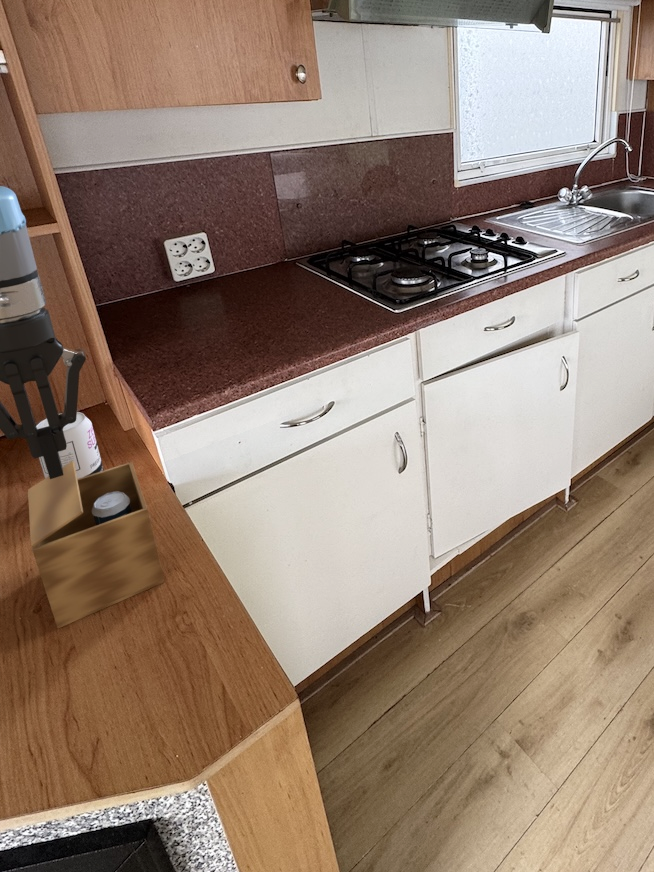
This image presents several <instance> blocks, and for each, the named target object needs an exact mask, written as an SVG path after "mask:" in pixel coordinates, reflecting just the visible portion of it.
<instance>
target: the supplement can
mask: <svg viewBox="0 0 654 872" xmlns="http://www.w3.org/2000/svg"><path fill="white" fill-rule="evenodd" d="M62 413H63V412H62ZM62 413H58V414H59V415H60V414H62ZM47 426H49V424H48V421H47V418H45V419H42V420H41V421H40V422H39V423H38V424H36V427H37V429H40V428H44V427H47ZM63 432H64V436H65V439H66V444H67V447H66V450H62V451H59V452H58V453H59V456H60V460H61V463H62V467H64V466H65V465H67V464H68V463H70V462H72V461H73V462H74V464H75V469H76V475H77V479H79V478H82V477H85V476H88V475H91V474H95V473H98V472H101V471H104V470H105V469H104V465H103V462H102V458H101V454H100V449H99V446H98V443H97V439H96V435H95V431H94V427H93V423H92V421H91V420H90V419H89V418H88V417H87V416H86V415H85V414H84V413H83V412H80V411H77V417H76V421H75V422H74V423H71V424H67V425H66V426H64V428H63ZM38 461H39V463H40V467H41V469H42V473H43V476H44V479H45V478H47V477H48V476H49V474H48V470H47V467H46V464H45V460H44V457H43V456H42V457H39V458H38Z"/></svg>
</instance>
